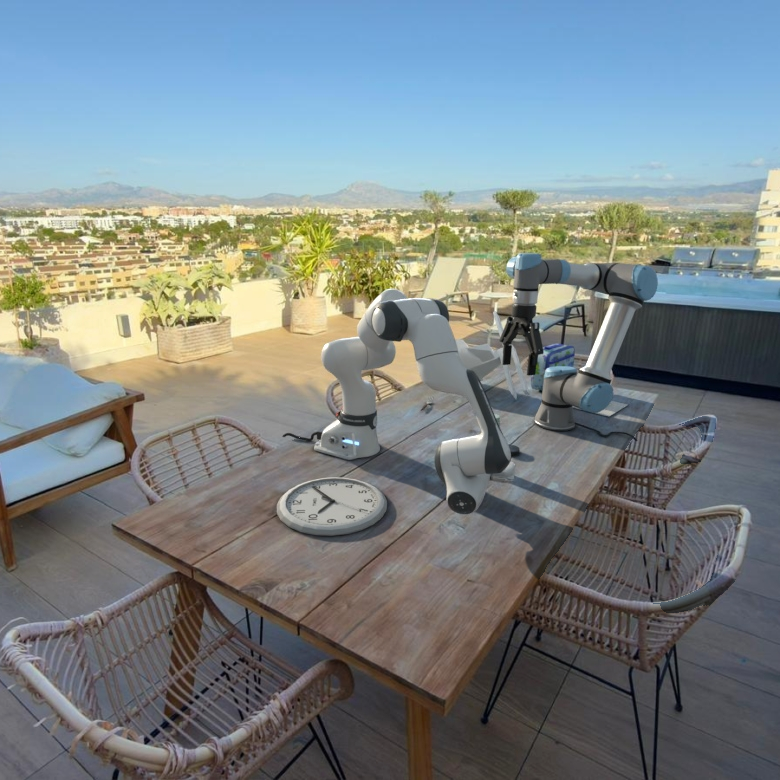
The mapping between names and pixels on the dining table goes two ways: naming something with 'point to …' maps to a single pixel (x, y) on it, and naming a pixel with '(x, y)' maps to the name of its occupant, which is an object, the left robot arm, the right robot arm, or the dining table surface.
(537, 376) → the lunch box
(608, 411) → the invitation card
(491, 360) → the white plastic object
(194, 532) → the dining table surface
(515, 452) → the lid
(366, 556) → the dining table surface
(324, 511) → the wall clock
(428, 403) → the fork
